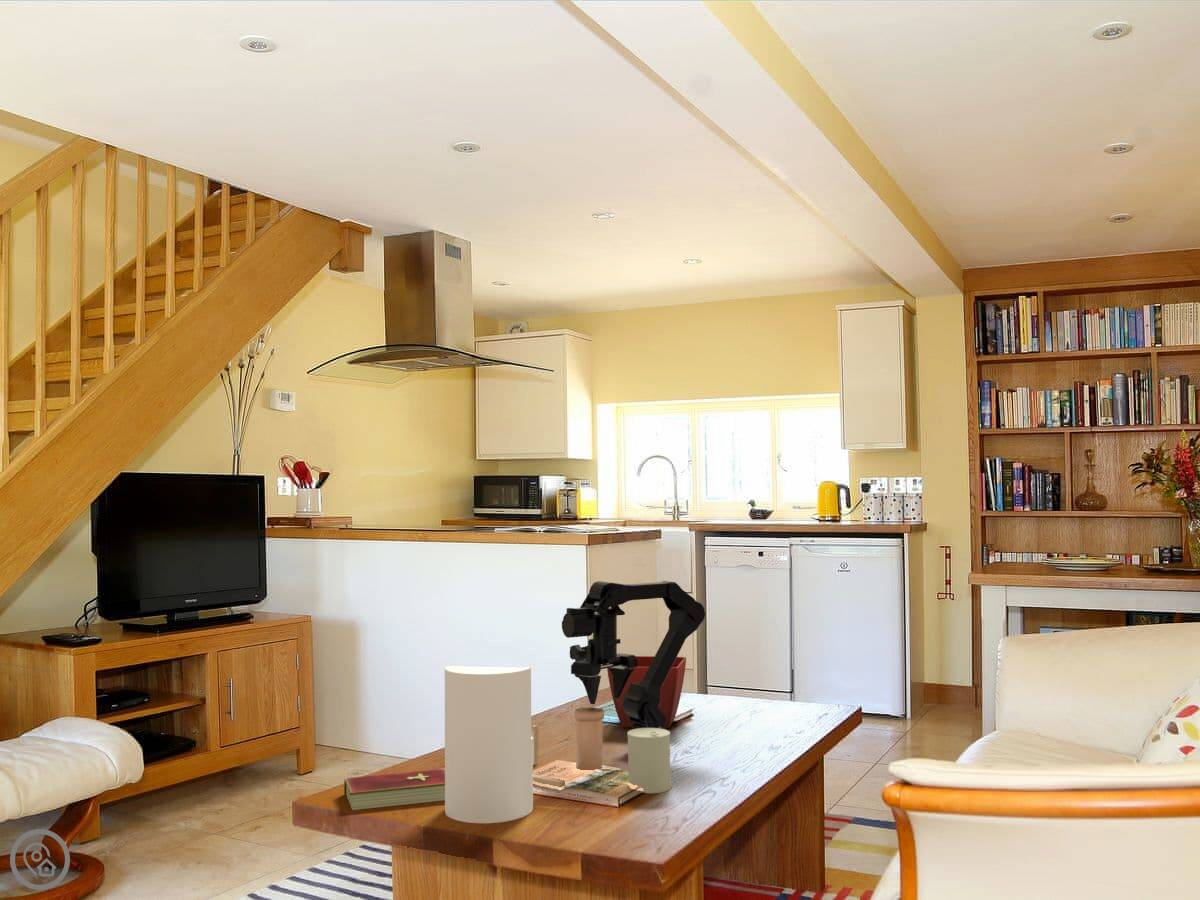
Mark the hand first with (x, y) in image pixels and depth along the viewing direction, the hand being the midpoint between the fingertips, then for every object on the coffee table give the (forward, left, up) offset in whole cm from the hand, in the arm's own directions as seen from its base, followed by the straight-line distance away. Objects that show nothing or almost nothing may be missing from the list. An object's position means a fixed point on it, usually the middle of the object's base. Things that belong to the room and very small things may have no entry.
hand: (604, 701), depth 247 cm
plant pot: (-1, -37, -13) cm, 40 cm away
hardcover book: (+32, +42, -14) cm, 55 cm away
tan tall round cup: (0, +12, -13) cm, 18 cm away
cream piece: (+6, +17, -13) cm, 22 cm away
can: (-16, +22, -13) cm, 30 cm away
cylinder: (+11, +45, -13) cm, 48 cm away
